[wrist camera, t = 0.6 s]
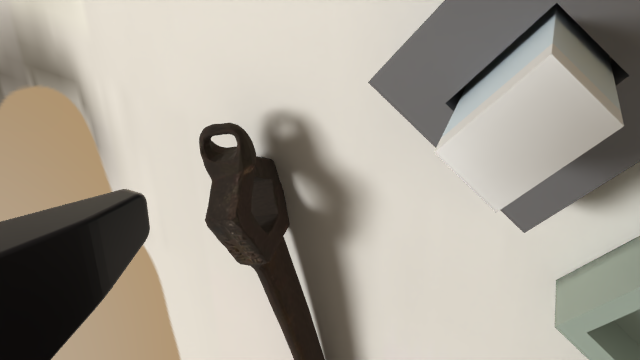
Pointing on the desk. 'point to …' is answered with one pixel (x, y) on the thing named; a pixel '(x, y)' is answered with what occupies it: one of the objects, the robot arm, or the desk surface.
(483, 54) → the fuse block
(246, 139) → the wrench
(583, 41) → the white rectangular block
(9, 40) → the desk surface
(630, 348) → the parts tray
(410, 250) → the desk surface
